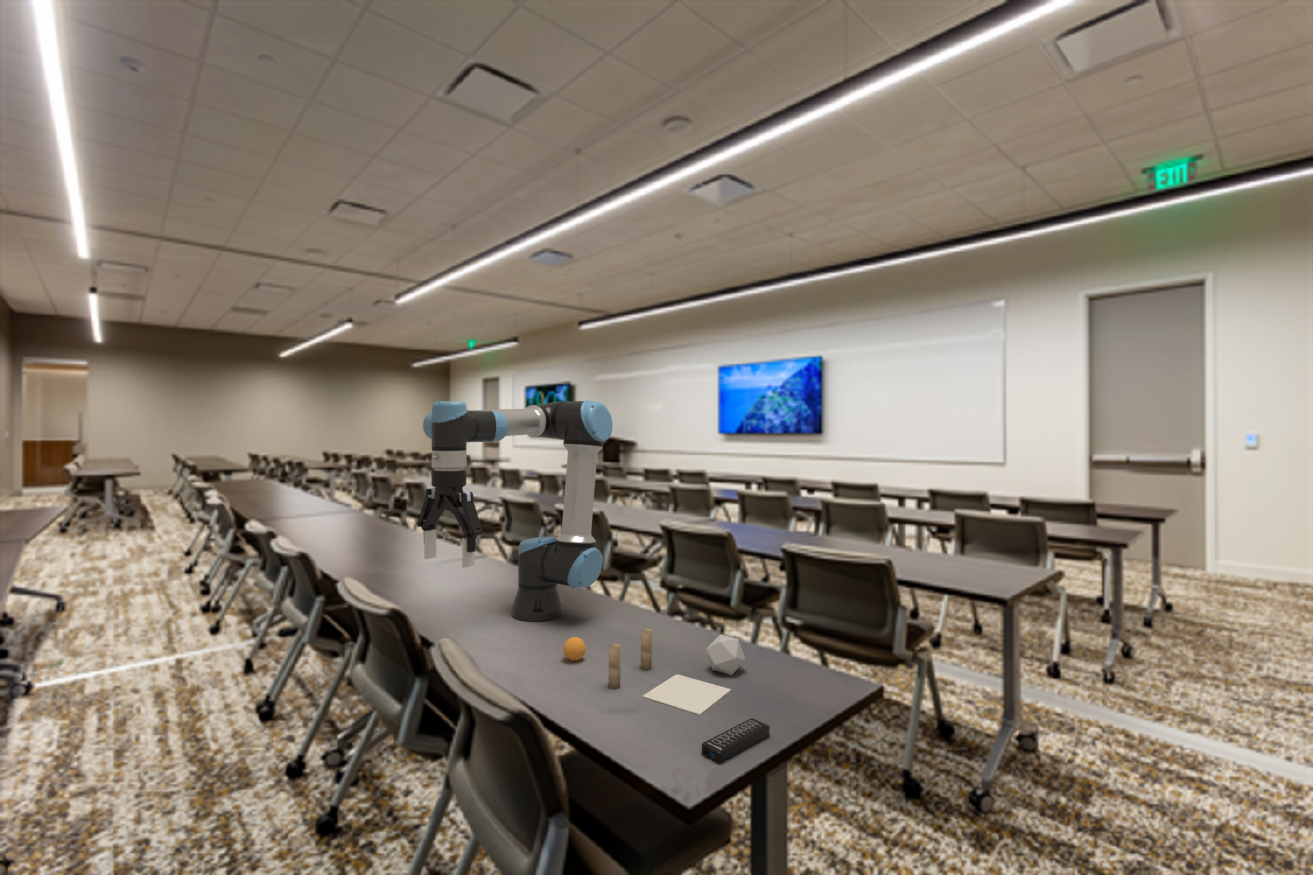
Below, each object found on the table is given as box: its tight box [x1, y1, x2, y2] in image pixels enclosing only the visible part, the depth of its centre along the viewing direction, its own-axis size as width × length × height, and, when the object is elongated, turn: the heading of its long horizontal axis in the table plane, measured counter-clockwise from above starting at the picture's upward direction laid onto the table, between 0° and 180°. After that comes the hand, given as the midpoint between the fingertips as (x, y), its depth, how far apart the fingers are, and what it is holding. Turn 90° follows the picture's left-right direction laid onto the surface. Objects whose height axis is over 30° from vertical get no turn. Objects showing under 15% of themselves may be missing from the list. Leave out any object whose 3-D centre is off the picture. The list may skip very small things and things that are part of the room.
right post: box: [640, 628, 653, 671], centre depth 144 cm, size 3×3×9 cm
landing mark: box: [641, 673, 732, 716], centre depth 130 cm, size 14×14×1 cm
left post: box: [608, 643, 622, 690], centre depth 133 cm, size 3×3×9 cm
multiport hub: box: [701, 717, 771, 765], centre depth 110 cm, size 4×14×2 cm, turn 133°
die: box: [705, 634, 747, 676], centre depth 143 cm, size 8×9×10 cm
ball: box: [562, 636, 587, 662], centre depth 148 cm, size 6×6×6 cm
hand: (448, 562), depth 138 cm, fingers open, 13 cm apart
